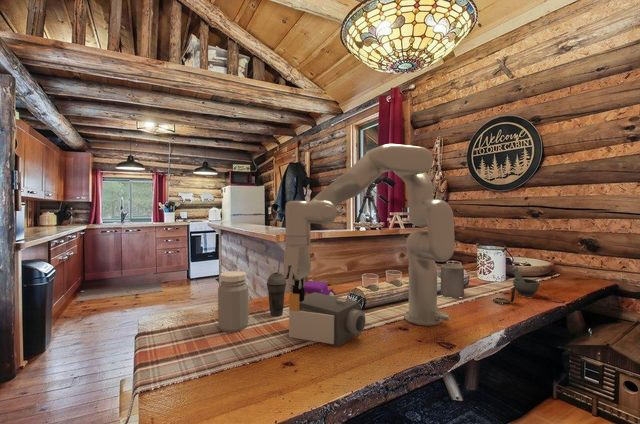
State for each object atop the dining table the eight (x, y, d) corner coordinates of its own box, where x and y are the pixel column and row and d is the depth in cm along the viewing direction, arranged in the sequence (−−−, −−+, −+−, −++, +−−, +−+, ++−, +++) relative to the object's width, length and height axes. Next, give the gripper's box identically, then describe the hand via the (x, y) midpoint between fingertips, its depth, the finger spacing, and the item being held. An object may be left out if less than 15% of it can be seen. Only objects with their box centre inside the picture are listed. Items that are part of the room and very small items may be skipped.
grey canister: (446, 291, 143) (446, 260, 143) (467, 295, 136) (467, 262, 136) (436, 295, 137) (436, 262, 136) (458, 300, 129) (458, 265, 129)
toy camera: (332, 312, 114) (332, 286, 114) (297, 310, 117) (297, 284, 117) (336, 304, 125) (336, 279, 125) (304, 301, 127) (304, 278, 127)
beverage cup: (267, 311, 116) (267, 259, 115) (286, 310, 116) (286, 259, 116) (265, 318, 108) (265, 262, 108) (286, 317, 109) (286, 262, 109)
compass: (493, 299, 131) (493, 283, 131) (515, 302, 126) (515, 285, 126) (491, 304, 124) (492, 287, 124) (514, 308, 120) (515, 289, 120)
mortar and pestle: (543, 297, 134) (544, 270, 133) (531, 300, 129) (532, 272, 129) (517, 291, 144) (517, 266, 143) (505, 293, 139) (505, 268, 139)
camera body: (369, 336, 93) (369, 301, 93) (348, 350, 84) (348, 312, 84) (314, 320, 106) (314, 289, 106) (291, 331, 97) (291, 298, 97)
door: (334, 343, 86) (334, 297, 86) (333, 344, 86) (333, 298, 85) (290, 335, 91) (290, 293, 91) (289, 336, 91) (289, 293, 90)
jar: (211, 330, 98) (211, 275, 97) (230, 320, 107) (230, 269, 107) (237, 334, 94) (236, 277, 94) (254, 323, 103) (254, 271, 103)
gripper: (298, 238, 101) (298, 293, 101) (274, 243, 87) (275, 306, 87) (318, 239, 98) (319, 295, 98) (298, 244, 84) (298, 310, 84)
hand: (298, 300), depth 93 cm, fingers closed
